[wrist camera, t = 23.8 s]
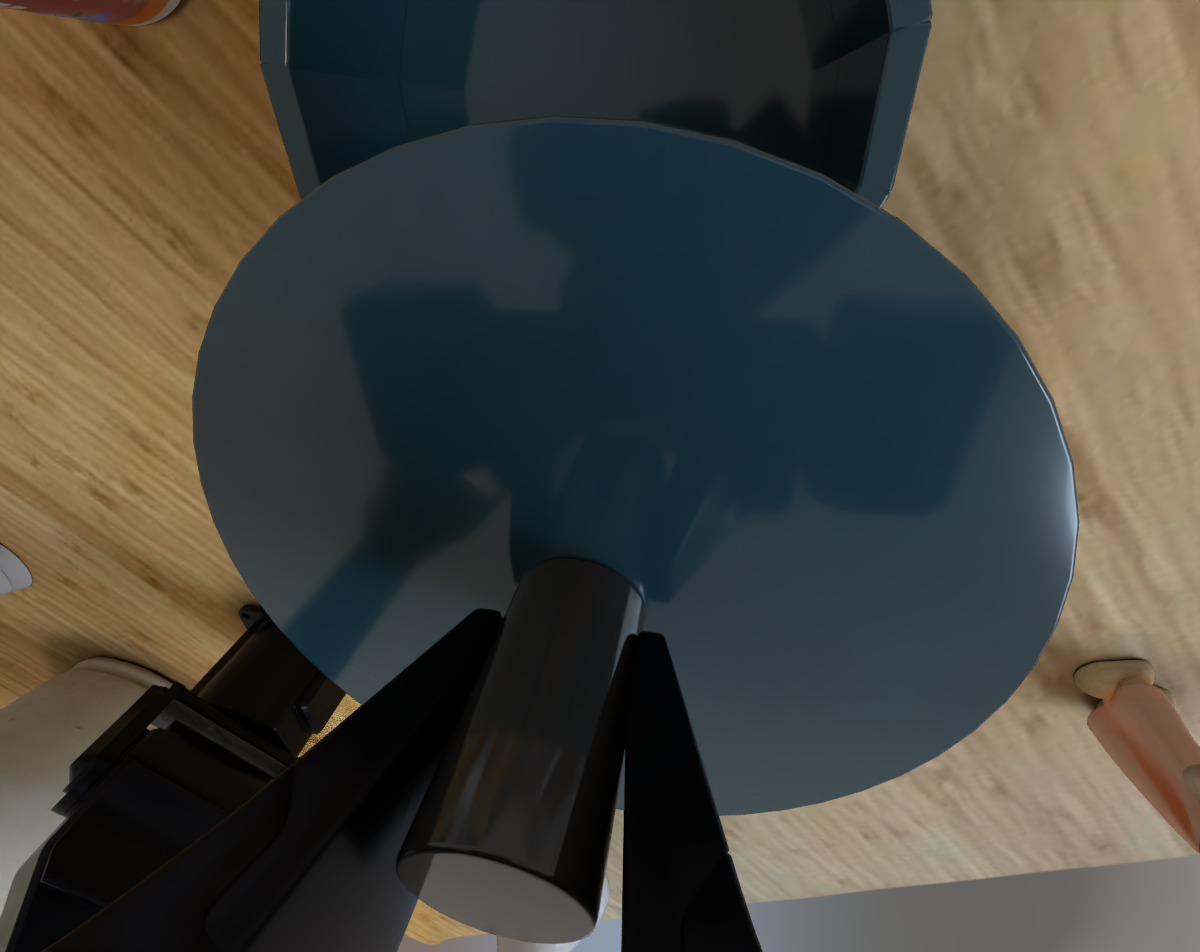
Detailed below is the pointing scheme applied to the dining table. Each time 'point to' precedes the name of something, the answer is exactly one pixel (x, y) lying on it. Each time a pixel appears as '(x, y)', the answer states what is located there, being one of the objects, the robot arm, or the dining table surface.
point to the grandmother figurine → (1146, 739)
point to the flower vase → (510, 948)
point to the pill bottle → (99, 9)
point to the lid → (631, 478)
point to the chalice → (12, 572)
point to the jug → (55, 748)
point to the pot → (598, 74)
